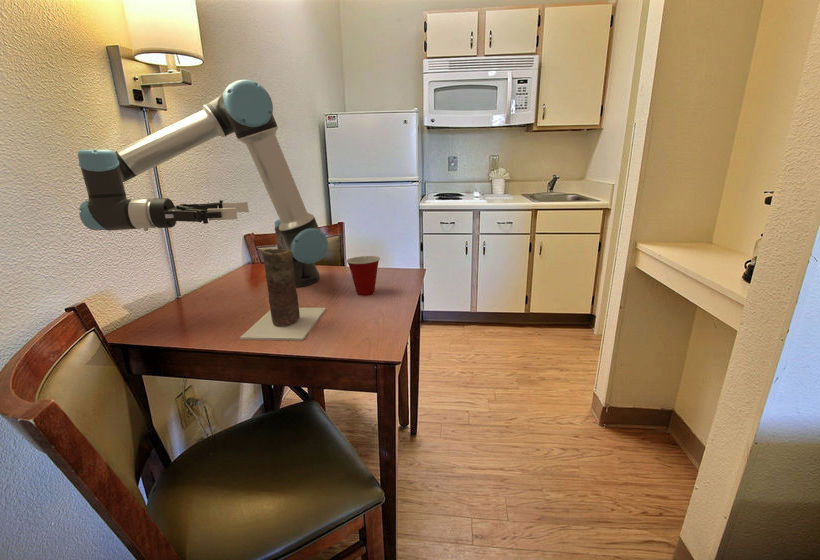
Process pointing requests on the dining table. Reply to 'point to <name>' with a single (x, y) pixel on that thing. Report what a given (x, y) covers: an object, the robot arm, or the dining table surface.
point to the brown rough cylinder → (281, 286)
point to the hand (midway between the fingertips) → (242, 210)
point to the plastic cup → (364, 273)
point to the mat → (284, 327)
